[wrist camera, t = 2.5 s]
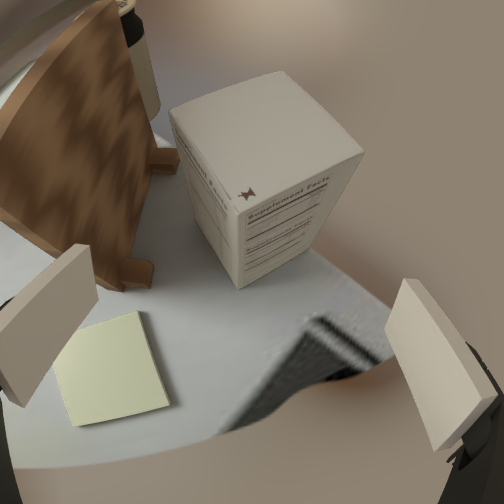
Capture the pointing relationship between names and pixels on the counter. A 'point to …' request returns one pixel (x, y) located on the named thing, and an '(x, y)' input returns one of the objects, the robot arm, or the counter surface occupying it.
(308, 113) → the supplement box
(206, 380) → the counter surface
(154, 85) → the travel mug
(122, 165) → the screen
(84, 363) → the sticky note pad
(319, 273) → the counter surface
